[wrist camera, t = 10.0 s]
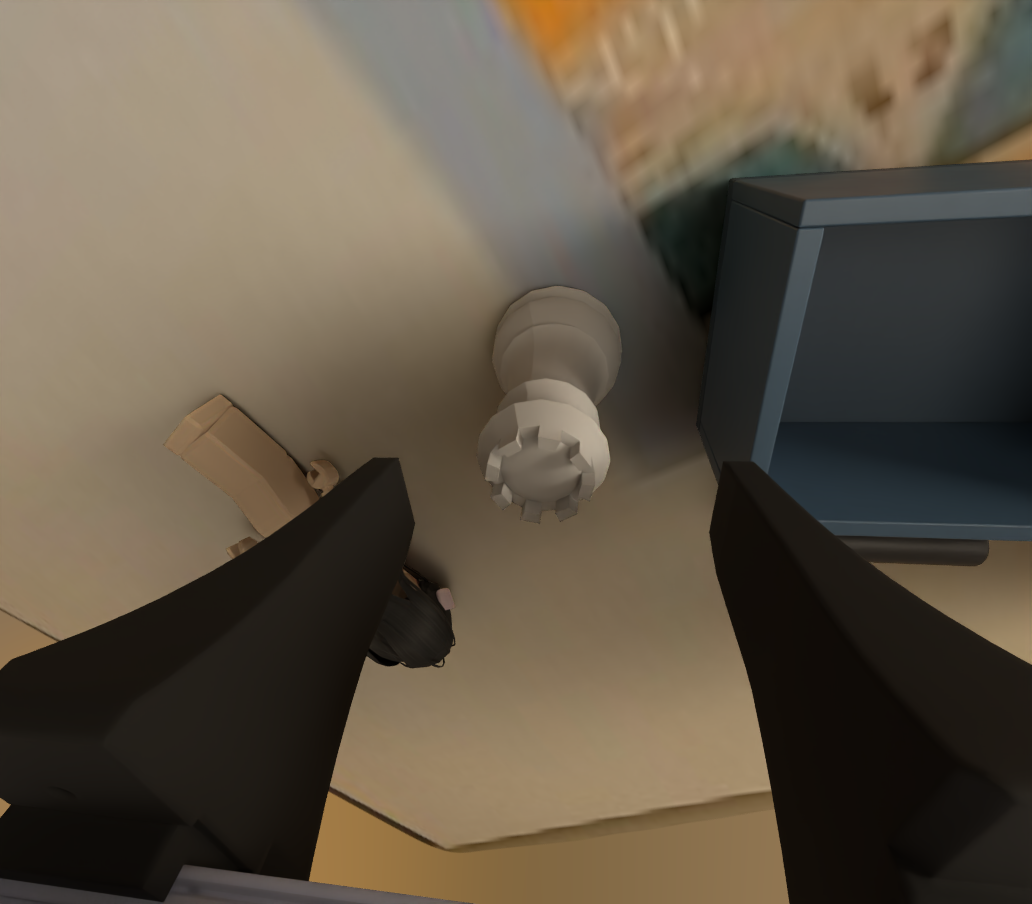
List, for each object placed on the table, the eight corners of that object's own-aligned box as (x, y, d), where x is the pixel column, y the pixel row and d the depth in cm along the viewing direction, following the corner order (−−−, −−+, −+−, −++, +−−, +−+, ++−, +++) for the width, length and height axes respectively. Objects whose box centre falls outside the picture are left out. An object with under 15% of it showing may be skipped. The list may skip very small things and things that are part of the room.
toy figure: (171, 465, 24) (406, 637, 29) (57, 548, 19) (371, 745, 23) (249, 368, 22) (496, 574, 26) (144, 431, 16) (480, 679, 21)
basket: (1183, 149, 13) (1568, 156, 8) (998, 496, 18) (1152, 631, 13) (729, 178, 14) (804, 199, 9) (686, 490, 20) (719, 608, 15)
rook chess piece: (474, 311, 18) (407, 434, 11) (595, 259, 16) (599, 366, 10) (526, 414, 20) (495, 567, 13) (638, 376, 18) (663, 528, 12)
